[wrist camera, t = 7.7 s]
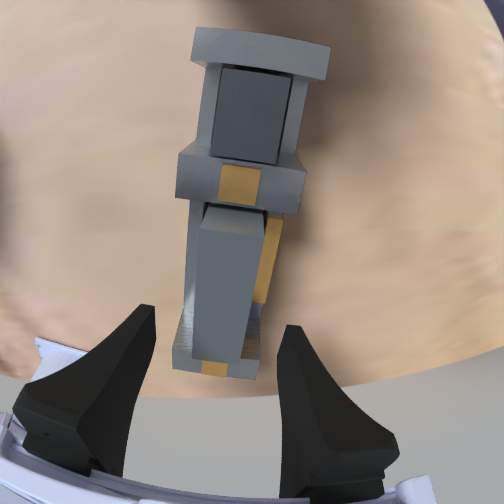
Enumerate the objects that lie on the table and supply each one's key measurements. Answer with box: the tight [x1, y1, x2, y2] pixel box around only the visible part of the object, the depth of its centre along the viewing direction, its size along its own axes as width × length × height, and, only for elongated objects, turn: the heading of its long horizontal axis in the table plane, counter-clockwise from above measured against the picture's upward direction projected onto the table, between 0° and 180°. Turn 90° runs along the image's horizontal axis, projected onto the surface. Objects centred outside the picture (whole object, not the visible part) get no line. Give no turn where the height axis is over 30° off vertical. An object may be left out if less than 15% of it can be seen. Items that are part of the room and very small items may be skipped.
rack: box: [172, 27, 331, 380], centre depth 16 cm, size 19×6×6 cm, turn 171°
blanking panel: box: [192, 202, 264, 365], centre depth 17 cm, size 8×2×7 cm, turn 171°
